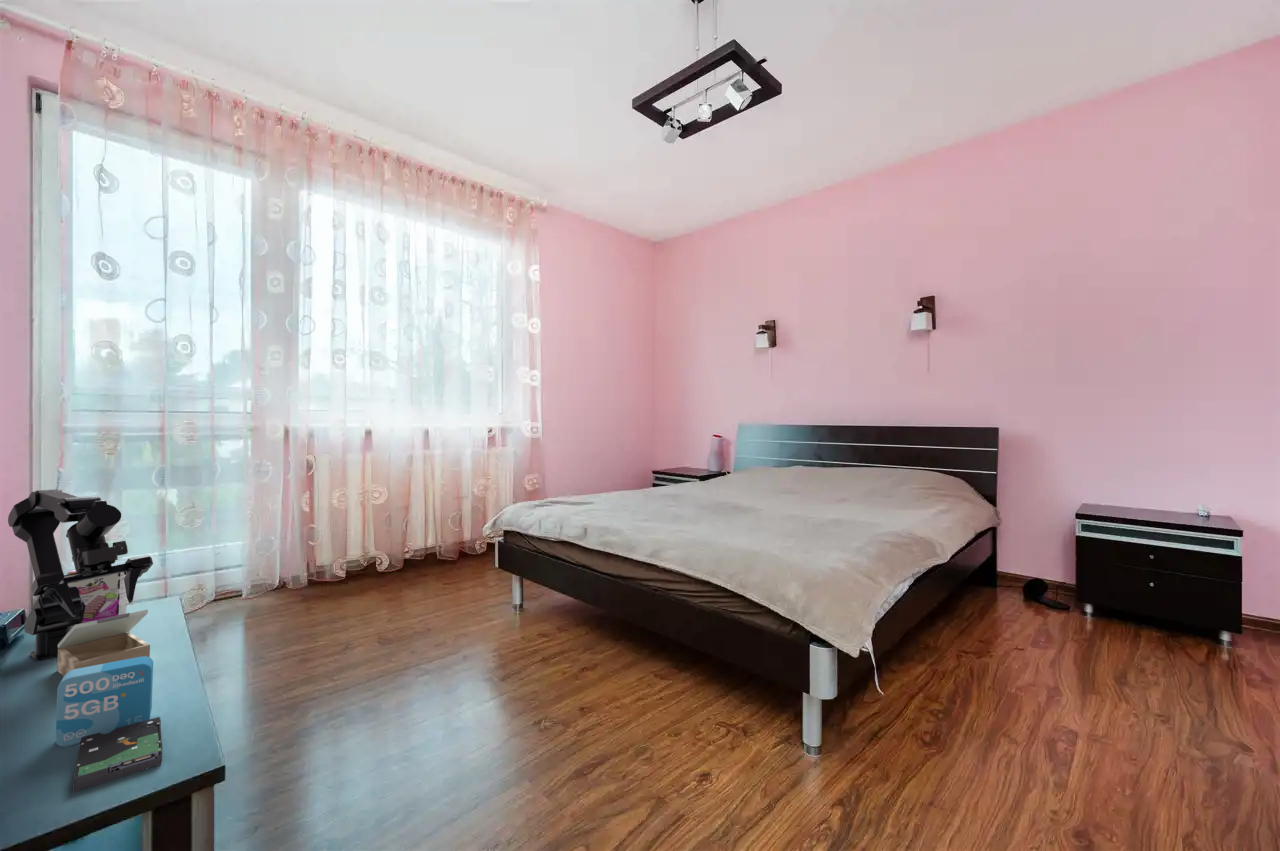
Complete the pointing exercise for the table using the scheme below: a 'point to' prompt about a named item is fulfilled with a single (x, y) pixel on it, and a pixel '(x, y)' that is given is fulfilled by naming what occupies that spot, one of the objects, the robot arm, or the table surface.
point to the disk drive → (118, 753)
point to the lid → (101, 628)
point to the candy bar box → (102, 596)
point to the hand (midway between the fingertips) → (103, 608)
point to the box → (101, 652)
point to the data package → (103, 698)
